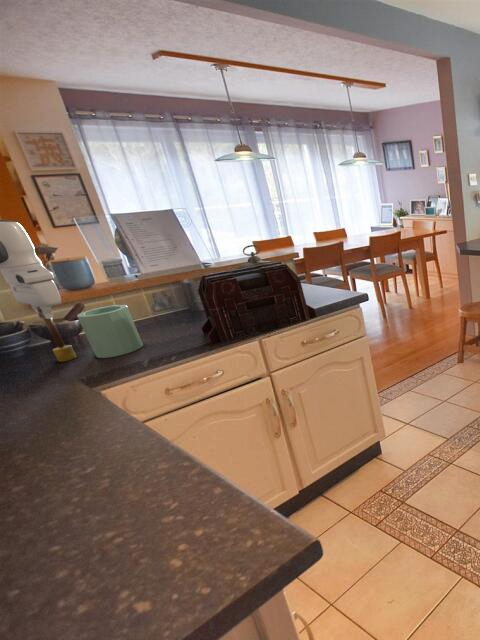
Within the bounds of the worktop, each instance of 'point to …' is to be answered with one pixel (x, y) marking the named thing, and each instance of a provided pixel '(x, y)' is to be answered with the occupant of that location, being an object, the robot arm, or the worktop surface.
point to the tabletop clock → (253, 259)
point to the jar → (110, 331)
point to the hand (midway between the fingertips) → (46, 317)
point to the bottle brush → (58, 341)
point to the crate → (251, 301)
